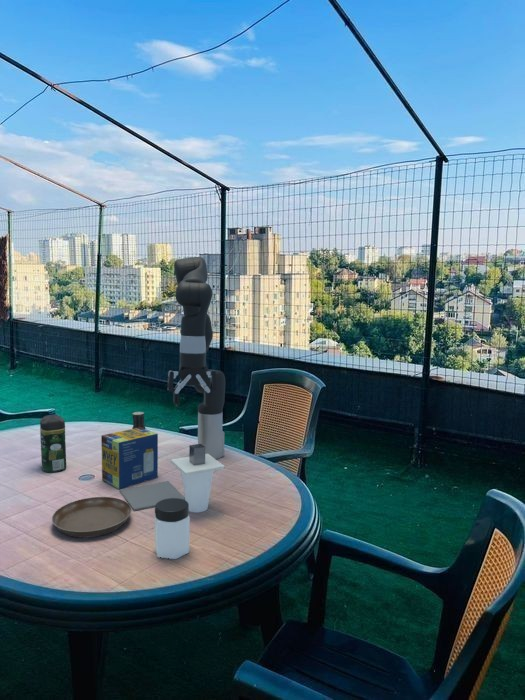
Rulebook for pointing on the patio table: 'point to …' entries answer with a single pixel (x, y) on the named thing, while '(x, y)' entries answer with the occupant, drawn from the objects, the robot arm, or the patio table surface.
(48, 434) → the coffee jar
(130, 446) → the protein box
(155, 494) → the mat
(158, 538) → the jar
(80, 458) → the patio table surface
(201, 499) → the foam cup
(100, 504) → the plant saucer
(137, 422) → the sauce bottle
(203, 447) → the lid
